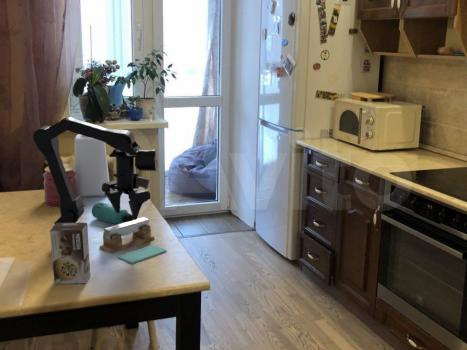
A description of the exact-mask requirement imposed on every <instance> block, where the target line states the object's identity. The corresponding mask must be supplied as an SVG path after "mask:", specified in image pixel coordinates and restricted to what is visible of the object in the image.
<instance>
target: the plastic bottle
mask: <svg viewBox="0 0 467 350" xmlns="http://www.w3.org/2000/svg"><path fill="white" fill-rule="evenodd" d="M73 147H74V148H73V149H74V155H73V167H74V169H73V171H74V172H76V175H75V180H76V181H77V182H76V187H77V197H78V196H80V195H81V197H82V198H85V197H90V198H91V197H103V196H106V195H105V194H104V193H105V192H103V191H102V185H103V184H104V183H105V182H110V176H109V175H110V173H109V168H108V167H109V166H108V158H107V157H108V156H107V149H106V148H107V147H106V143H105V142H103V141H100V140H97V139H94V138H90V137H87V136H84V135H80V134H76V136H75V138H74V146H73Z"/></svg>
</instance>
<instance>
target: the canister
mask: <svg viewBox="0 0 467 350" xmlns="http://www.w3.org/2000/svg"><path fill="white" fill-rule="evenodd" d="M63 165H64V168H65V171H66V174H67V177H68V179H69V182H70V185H71V188H72V191H73V193H74V194H75V195H76V196H77V187H76V182H77V181H76V180H75V175H76V172H74V166H72V165H71V164H69V163H64V162H63ZM44 171H45V172H44V173H43V174H42V177H43V178H44V181H43V188H44V190H43V191H44V201H45V204H46V205H47V206H51V207H52V206H53V207H60V197H59V194H58V192H57V189H56V186H55V183H54V181H53V178H52V175H51V172H50V170H49V167H48V166H46V167H45V168H44ZM77 197H78V196H77Z"/></svg>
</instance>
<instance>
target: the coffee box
mask: <svg viewBox="0 0 467 350" xmlns="http://www.w3.org/2000/svg"><path fill="white" fill-rule="evenodd" d="M49 235H50V247H51V257H52V259H51V260H52V271H53V284H54V285H68V284H70V285H71V284H72V285H74V284H76V283H78V285H79V283H85V284H87V283H88V281H89V279H90V277H91V266H90V265H91V264H90V262H91V261H90V250H89V249H90V247H89V233H88V222H76V223H56V224H54V225H53V226H52V227H51V229H50V230H49ZM85 284H84V285H85Z"/></svg>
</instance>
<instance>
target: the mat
mask: <svg viewBox="0 0 467 350" xmlns="http://www.w3.org/2000/svg"><path fill="white" fill-rule="evenodd" d="M166 251H167V252H168V250H167V249H165V248H162V247H160V246H157V245H155V244H150V245H147V246H145V247H141V248H139V249H135V250H132V251H129V252H126V253H123V254H121V255H118V256H117V258H118V259H120V260H122V261H124V262H127V263H130V264H132V265H135V264H136V263H139V262H141V261H145V260H147V258H148V259H150V258H153V257H156V256H158V254H159V255H162V254H164V253H166ZM161 253H162V254H161ZM144 259H145V260H144Z"/></svg>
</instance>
